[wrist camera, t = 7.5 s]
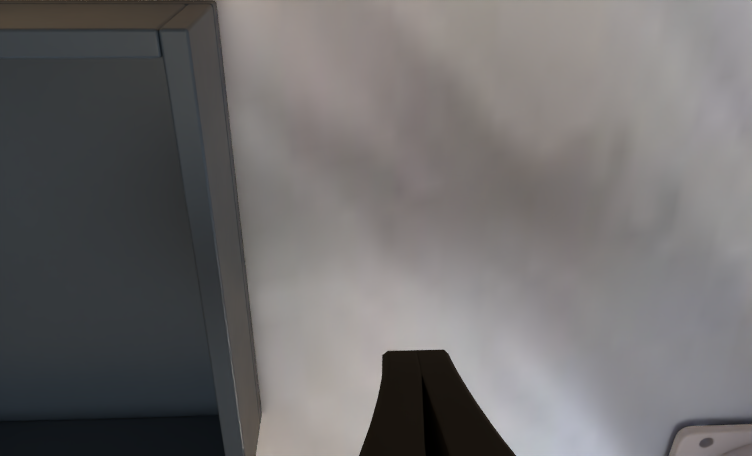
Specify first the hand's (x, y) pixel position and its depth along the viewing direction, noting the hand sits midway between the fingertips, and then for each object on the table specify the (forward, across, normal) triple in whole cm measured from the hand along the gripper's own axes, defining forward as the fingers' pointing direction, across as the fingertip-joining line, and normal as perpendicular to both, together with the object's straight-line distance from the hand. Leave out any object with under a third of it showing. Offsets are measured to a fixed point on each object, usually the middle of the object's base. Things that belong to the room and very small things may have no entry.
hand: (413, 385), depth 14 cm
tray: (+6, +10, 0) cm, 12 cm away
